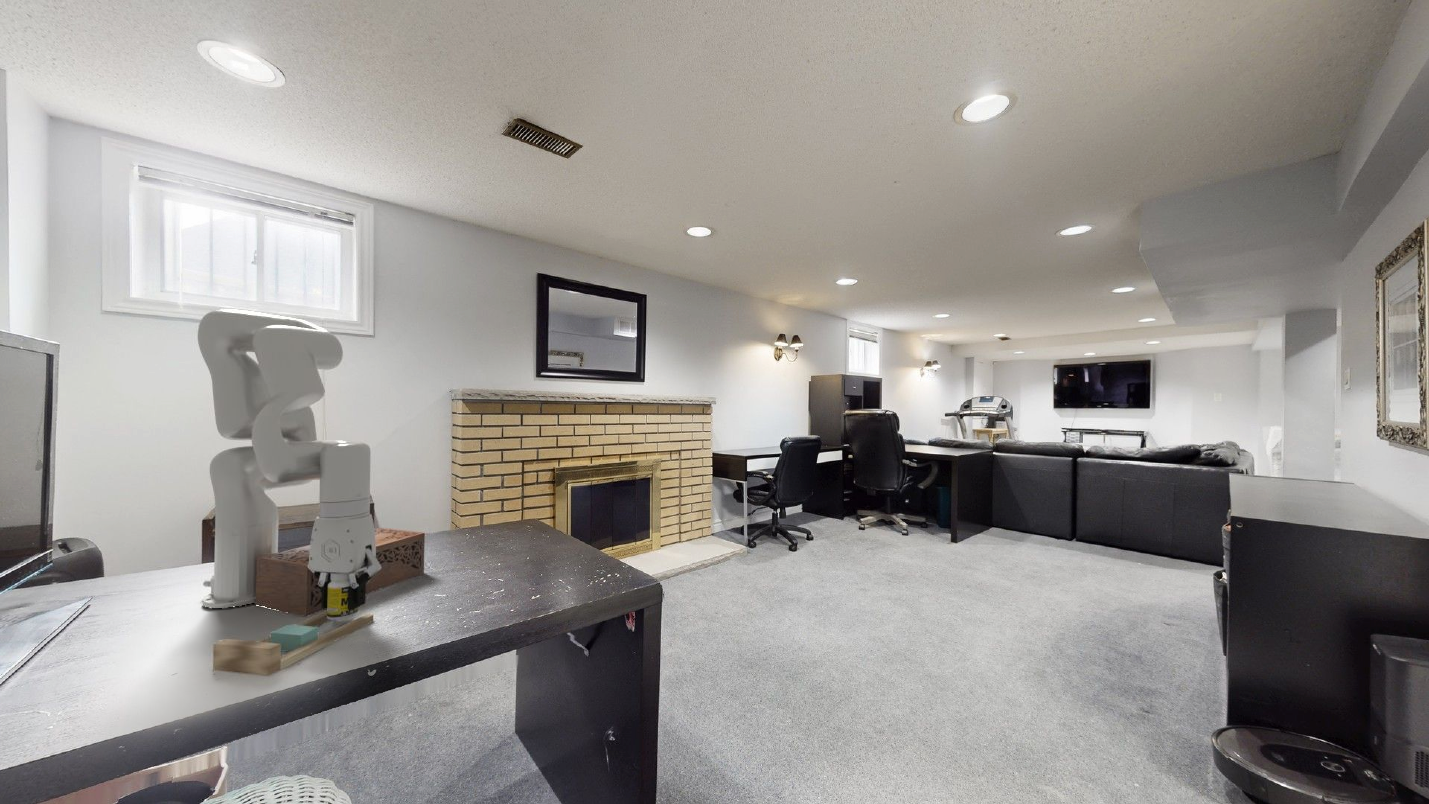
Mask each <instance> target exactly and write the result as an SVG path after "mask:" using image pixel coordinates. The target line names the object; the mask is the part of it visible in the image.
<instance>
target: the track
mask: <svg viewBox="0 0 1429 804" xmlns="http://www.w3.org/2000/svg"><path fill="white" fill-rule="evenodd" d="M328 621H330V620H329V619H328V618H327V610H326V611H322V612H321V613H318V614H317V615H314V616H313V617H309V618H308V619H306V620H303V621H301V622H299V623H297V624H296V625H301V626H312V627H318V626H320V625H321V624H324V623H326V622H328ZM373 622H374V614H368V613H365V614H363V615H361V616H360V617H357V618H355V619H353V620H351V621H349V622H347V623H345V624H343V625H342V626H339V627H337V628H335V629H333V630H331V631H330V632H328V633H326V634H323V635H322V636H318V638H317V639H315V640H313V641H311V642H309V643H307V644H305V645H303V646H301V647H299V648H297V649H295V650H293V651H288V652H287V653H285V654H283V655H281V654H282V651H281V644H277V643H270V636H268V637H266V638H264V639H262V640H259V641H255V640H253V641H252V640H242V639H232V638H224V639H221V640H219V641H217V642H214V643H213V648H212V649H213V650H212V651H213V652H212V653H213V655H212V670H213V671H220V672H230V673H238V674H250V675H259V676H267V677H268V676H269V677H270V676H271V675H274V674H275V673H277V672H279V671H281V670H283V669H286V668H287V667H289V666H291V665H293V664H295V663H296V662H298V661H301V660H302V659H304V658H306V657H309V656H310V655H311V654H314V653H315V652H317V651H319V650H321V649H324V647H326V646H327V647H328V646H329V645H330V644H333V643H335V642H337V641H338V640H341V639H342V638H344V637H346V636H348V635H349V634H352V633H353V632H356V631H357V630H359V629H361V628H363V627H366V626H367V625H369V624H370V623H373Z"/></svg>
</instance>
